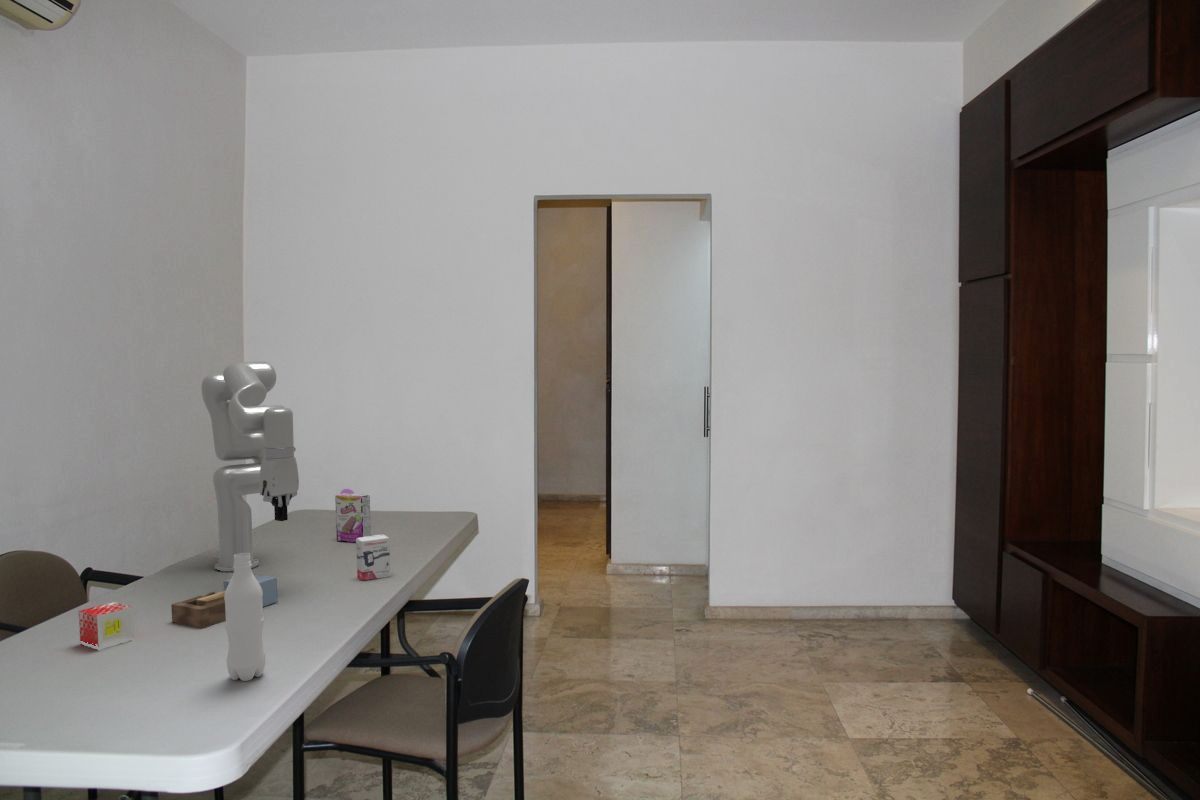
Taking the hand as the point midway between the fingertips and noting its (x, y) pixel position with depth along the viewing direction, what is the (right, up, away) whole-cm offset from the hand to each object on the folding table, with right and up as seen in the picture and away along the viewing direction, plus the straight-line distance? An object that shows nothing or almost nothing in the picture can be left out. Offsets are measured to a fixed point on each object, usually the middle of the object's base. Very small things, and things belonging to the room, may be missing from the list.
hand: (281, 520), depth 232 cm
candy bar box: (+1, -17, +65) cm, 67 cm away
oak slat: (-8, -21, -14) cm, 27 cm away
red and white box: (-26, -23, -37) cm, 51 cm away
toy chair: (-6, -16, +86) cm, 88 cm away
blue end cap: (-4, -21, -9) cm, 23 cm away
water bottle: (+15, -23, -60) cm, 66 cm away
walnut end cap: (-10, -22, -21) cm, 31 cm away
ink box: (+21, -19, +16) cm, 33 cm away
